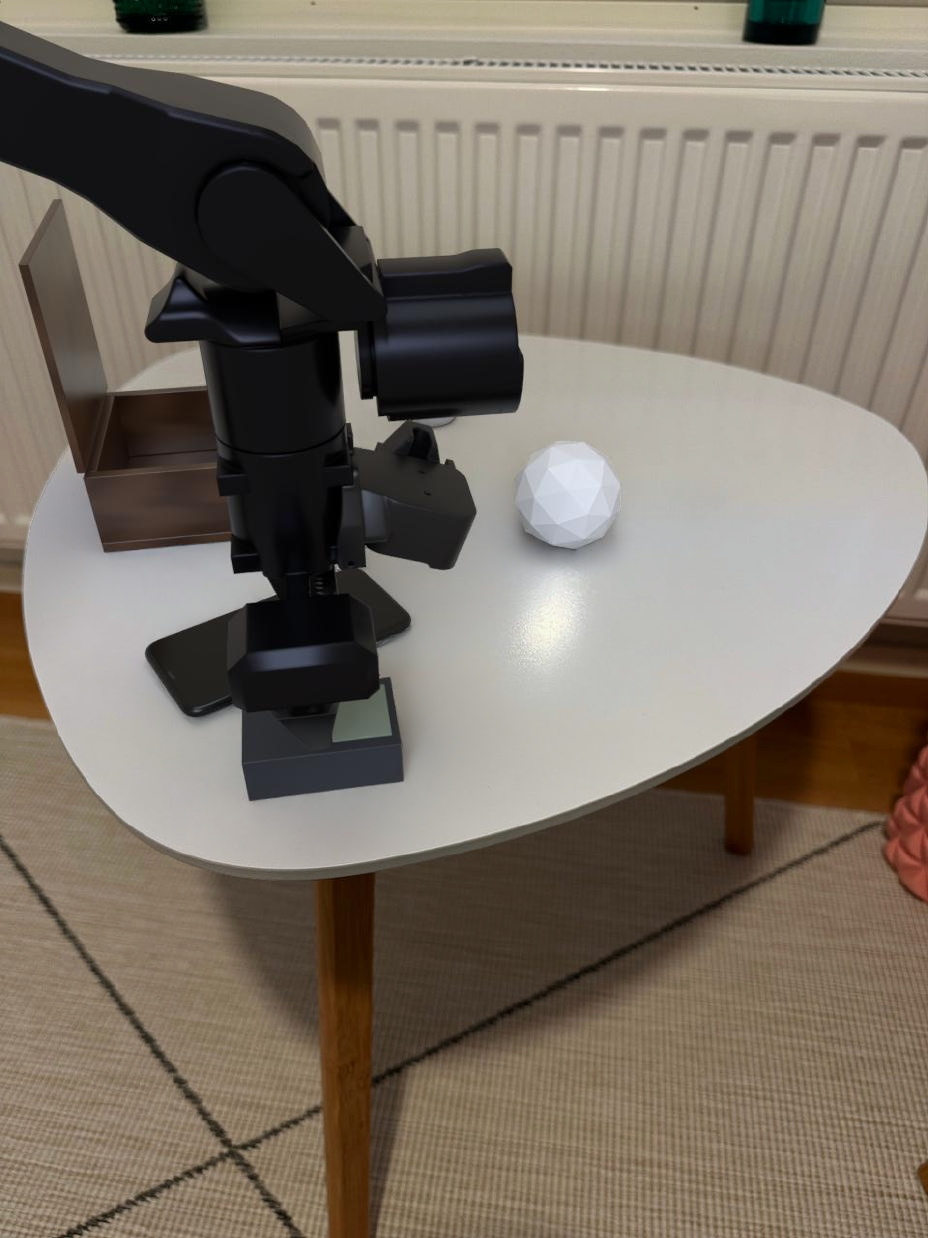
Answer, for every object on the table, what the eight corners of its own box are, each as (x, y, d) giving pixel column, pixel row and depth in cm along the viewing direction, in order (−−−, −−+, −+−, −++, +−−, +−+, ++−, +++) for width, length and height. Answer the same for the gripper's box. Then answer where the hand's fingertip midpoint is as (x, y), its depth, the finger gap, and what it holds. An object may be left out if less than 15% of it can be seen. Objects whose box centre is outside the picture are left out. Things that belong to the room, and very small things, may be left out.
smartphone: (357, 571, 70) (141, 655, 62) (356, 561, 69) (138, 644, 62) (418, 629, 65) (190, 727, 57) (417, 618, 64) (187, 716, 57)
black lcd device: (249, 801, 53) (240, 761, 51) (249, 730, 57) (241, 691, 55) (404, 781, 54) (401, 742, 52) (392, 713, 59) (390, 674, 57)
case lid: (61, 198, 69) (52, 198, 69) (28, 263, 58) (17, 264, 58) (108, 387, 78) (100, 388, 78) (86, 473, 67) (77, 474, 67)
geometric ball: (541, 555, 76) (525, 453, 76) (641, 539, 73) (625, 432, 72) (506, 560, 69) (488, 447, 69) (615, 542, 66) (597, 424, 66)
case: (285, 448, 84) (277, 379, 80) (290, 535, 73) (280, 461, 69) (122, 461, 82) (105, 391, 78) (103, 552, 72) (82, 478, 68)
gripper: (503, 522, 37) (493, 798, 46) (432, 328, 51) (436, 570, 61) (199, 549, 35) (256, 829, 45) (214, 342, 49) (255, 588, 59)
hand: (313, 685), depth 52 cm, fingers open, 9 cm apart
